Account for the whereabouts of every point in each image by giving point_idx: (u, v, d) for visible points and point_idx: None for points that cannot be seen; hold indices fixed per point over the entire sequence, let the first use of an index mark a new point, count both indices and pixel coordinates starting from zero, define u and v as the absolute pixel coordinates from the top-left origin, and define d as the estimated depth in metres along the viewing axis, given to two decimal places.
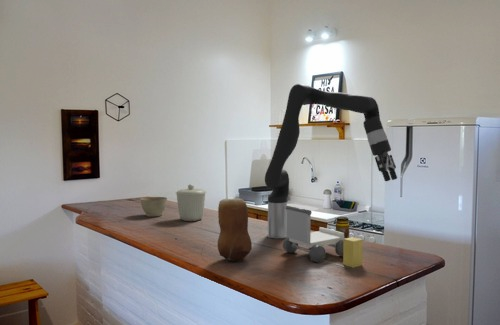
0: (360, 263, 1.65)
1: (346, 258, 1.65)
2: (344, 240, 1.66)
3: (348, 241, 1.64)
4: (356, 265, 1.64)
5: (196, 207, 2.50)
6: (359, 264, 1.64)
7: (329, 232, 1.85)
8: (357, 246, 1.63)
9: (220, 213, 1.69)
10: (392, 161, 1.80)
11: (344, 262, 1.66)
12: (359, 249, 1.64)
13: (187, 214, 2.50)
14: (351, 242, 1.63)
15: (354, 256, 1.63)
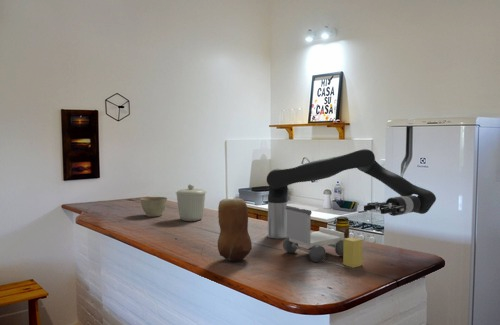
0: (360, 263, 1.65)
1: (346, 258, 1.65)
2: (344, 240, 1.66)
3: (348, 241, 1.64)
4: (356, 265, 1.64)
5: (196, 207, 2.50)
6: (359, 264, 1.64)
7: (329, 232, 1.85)
8: (357, 246, 1.63)
9: (220, 213, 1.69)
10: (373, 208, 1.80)
11: (344, 262, 1.66)
12: (359, 249, 1.64)
13: (187, 214, 2.50)
14: (351, 242, 1.63)
15: (354, 256, 1.63)
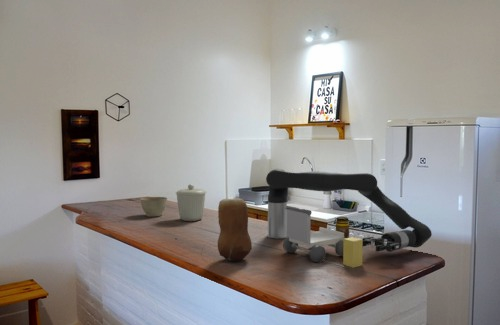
0: (360, 263, 1.65)
1: (346, 258, 1.65)
2: (344, 240, 1.66)
3: (348, 241, 1.64)
4: (356, 265, 1.64)
5: (196, 207, 2.50)
6: (359, 264, 1.64)
7: (329, 232, 1.85)
8: (357, 246, 1.63)
9: (220, 213, 1.69)
10: (369, 243, 1.79)
11: (344, 262, 1.66)
12: (359, 249, 1.64)
13: (187, 214, 2.50)
14: (351, 242, 1.63)
15: (354, 256, 1.63)
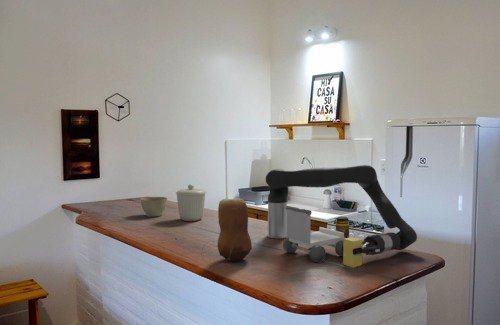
0: (360, 263, 1.65)
1: (346, 258, 1.65)
2: (344, 240, 1.66)
3: (348, 241, 1.64)
4: (356, 265, 1.63)
5: (196, 207, 2.50)
6: (359, 264, 1.64)
7: (329, 232, 1.85)
8: (357, 246, 1.63)
9: (220, 213, 1.69)
10: None
11: (344, 262, 1.66)
12: None
13: (187, 214, 2.50)
14: (351, 242, 1.63)
15: (354, 256, 1.63)
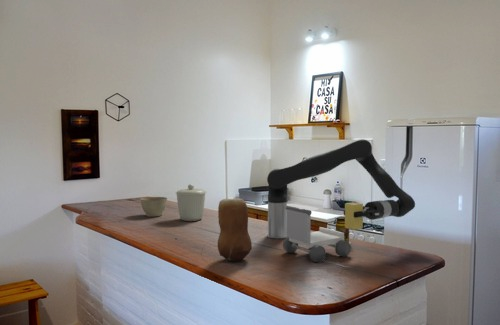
0: (361, 226, 1.76)
1: (347, 221, 1.76)
2: (345, 204, 1.77)
3: (349, 205, 1.75)
4: (357, 227, 1.74)
5: (196, 207, 2.50)
6: (360, 227, 1.75)
7: (329, 232, 1.85)
8: (358, 210, 1.74)
9: (220, 213, 1.69)
10: None
11: (345, 225, 1.77)
12: None
13: (187, 214, 2.50)
14: (352, 206, 1.74)
15: (355, 219, 1.74)
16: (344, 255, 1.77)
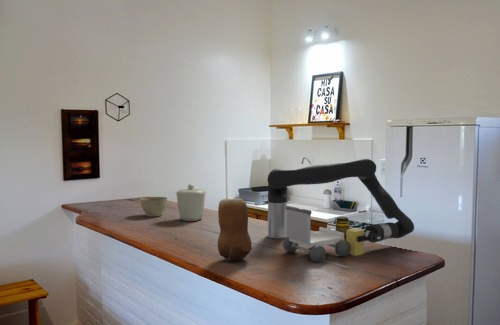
0: (362, 252, 1.81)
1: None
2: (347, 231, 1.82)
3: (351, 232, 1.80)
4: (358, 253, 1.79)
5: (196, 207, 2.50)
6: (361, 253, 1.80)
7: (329, 232, 1.85)
8: None
9: (220, 213, 1.69)
10: None
11: None
12: None
13: (187, 214, 2.50)
14: (353, 232, 1.79)
15: (356, 245, 1.79)
16: (344, 255, 1.77)
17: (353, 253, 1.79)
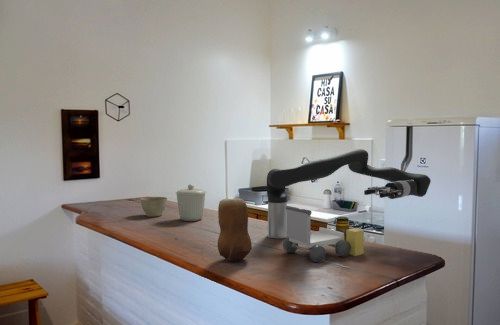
0: (362, 252, 1.81)
1: None
2: (347, 231, 1.82)
3: (351, 232, 1.80)
4: (358, 253, 1.79)
5: (196, 207, 2.50)
6: (361, 253, 1.80)
7: (329, 232, 1.85)
8: (359, 236, 1.79)
9: (220, 213, 1.69)
10: (373, 192, 1.95)
11: None
12: (361, 239, 1.80)
13: (187, 214, 2.50)
14: (353, 232, 1.79)
15: (356, 245, 1.79)
16: (344, 255, 1.77)
17: (353, 253, 1.79)
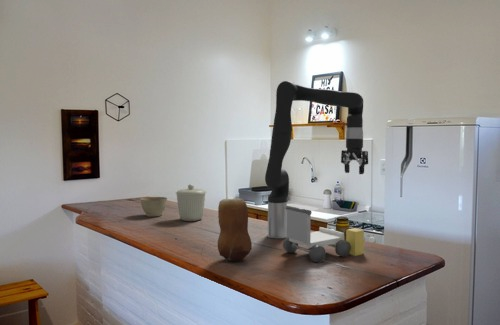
0: (362, 252, 1.81)
1: None
2: (347, 231, 1.82)
3: (351, 232, 1.80)
4: (358, 253, 1.79)
5: (196, 207, 2.50)
6: (361, 253, 1.80)
7: (329, 232, 1.85)
8: (359, 236, 1.79)
9: (220, 213, 1.69)
10: (346, 156, 2.02)
11: None
12: (361, 239, 1.80)
13: (187, 214, 2.50)
14: (353, 232, 1.79)
15: (356, 245, 1.79)
16: (344, 255, 1.77)
17: (353, 253, 1.79)
